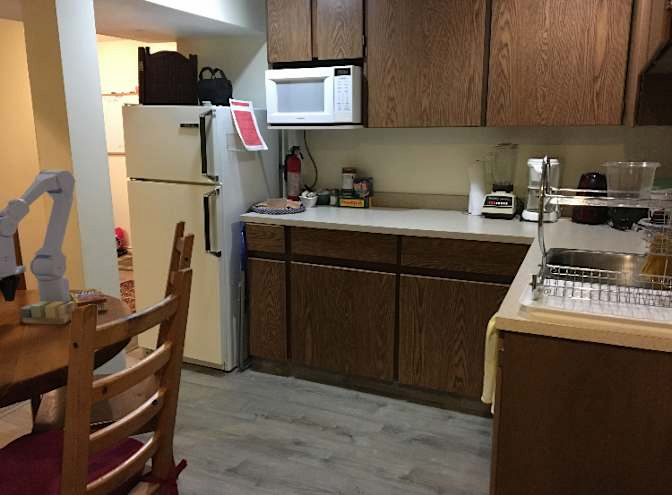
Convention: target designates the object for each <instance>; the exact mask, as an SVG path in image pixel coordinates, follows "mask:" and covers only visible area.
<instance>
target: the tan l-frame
mask: <svg viewBox="0 0 672 495" xmlns="http://www.w3.org/2000/svg"><path fill="white" fill-rule="evenodd" d="M74 308H75V301H71V300H70V301H68V302H66V303H65V304H64V305H62V306H60V307H59V315H60V318H35V317H24V318H23V321H22V322H23V323H24V324H43V325H45V324H46V325H64V324H66V323H68V322H69V320H70V318H71V312H72V310H73V309H74ZM67 321H68V322H67ZM70 321H71V320H70ZM65 322H66V323H65ZM63 323H64V324H63Z"/></svg>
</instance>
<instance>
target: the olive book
mask: <svg viewBox="0 0 672 495" xmlns="http://www.w3.org/2000/svg"><path fill="white" fill-rule="evenodd" d="M33 304H34V305H31V306H30V307H31V315H32V317H35V318H46V313H45V306H47V305H49V304H51V303H50V301H40V300H39V301H38V302H36V303H33Z"/></svg>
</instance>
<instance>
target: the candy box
mask: <svg viewBox="0 0 672 495" xmlns="http://www.w3.org/2000/svg"><path fill="white" fill-rule="evenodd" d="M70 299H71V300H70V301H75V308H77V307H82V306H85V305H88V304H98V306H99V311H98V312H102V311H107V310H108V309H109V308H108V300H107V297H106V296H105V294H104V293H103V292H102V291H101V290H100V289H99V287H94V288H93V287H92V288H85V289H81V290H79V289H78V290H73V291H70Z"/></svg>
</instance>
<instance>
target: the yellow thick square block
mask: <svg viewBox="0 0 672 495" xmlns="http://www.w3.org/2000/svg"><path fill="white" fill-rule="evenodd" d="M64 304H66V303H65V302H53V303H51V304H49V305H47V306H45V313H46V318H60V315H59V307H60V306H62V305H64Z"/></svg>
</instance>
